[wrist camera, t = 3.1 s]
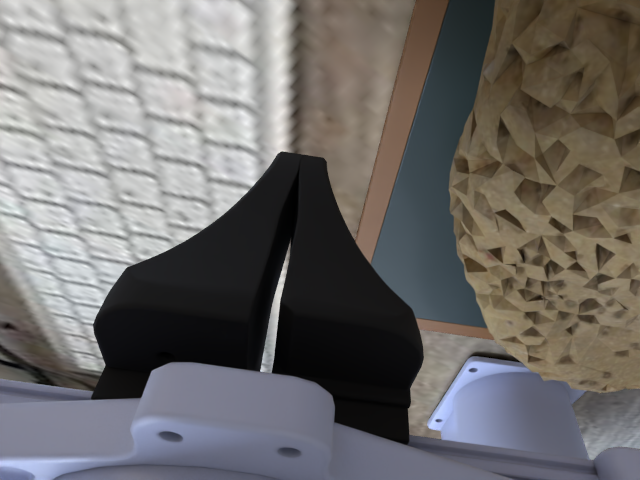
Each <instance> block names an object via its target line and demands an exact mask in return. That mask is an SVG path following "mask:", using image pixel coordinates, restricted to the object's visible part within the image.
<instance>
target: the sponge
mask: <svg viewBox="0 0 640 480" xmlns="http://www.w3.org/2000/svg"><path fill="white" fill-rule="evenodd" d="M449 192H450V197H451V200H450V209H449V210H450V213H451V214H452V215H453V216H454V230H453V231H454V234H455V236H456V242H457V243H456V246H457V255H458V257H459V258H460V260H461V261H462V263H463V264H464V272H465V277H466V280H467V282H468V283H469V284H470V285H471V286H472V287H473V288H474V290H475V293H476V301H477V303H478V305H479V307H480V309H481V312H482V315H483V318H484V321H485V323H486V325H487V327H488V330H489V333H491V334H492V335H493V338H494V340H495V342H496V343H497V344H499V345H501V346H503V347H504V348H505V350H506V352H507V353H509V354H510V355H512V356H514V357H515V358H516V359H518V360H519V361H521V362H522V363H523V364H524V365H525V366H526V367H527V368H528V369H529V370H530V371H531V372H538V373H539V374H540V376H541V378H542V379H543V381H548V380H557V381H564V382H567V383H568V384H569V386H571V389H578V390H586V391H595V392H598V393H600V394H601V393H603V392H604V393H607V392H615V391H620V390H622V389H625V388H627V389H637V388H640V0H495V7H494V16H493V25H492V30H491V34H490V38H489V42H488V46H487V50H486V54H485V58H484V62H483V67H482V72H481V77H480V81H479V86H478V90H477V94H476V98H475V103H474V107H473V109H472V111H471V113H470V115H469V117H468V119H467V121H466V123H465V126H464V131H463V134H462V135H461V137H460V139H459V142H458V145H457V149H456V152H455V155H454V158H453V162H452V166H451V171H450V180H449Z"/></svg>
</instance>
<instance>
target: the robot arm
mask: <svg viewBox="0 0 640 480" xmlns="http://www.w3.org/2000/svg"><path fill="white" fill-rule="evenodd" d="M290 240H291V250H290V260H289V265H288V270H287V274H286V279H285V283H284V288H283V292H282V297H281V301H280V310H279V320H278V329H277V338H276V347H275V356H274V363H273V369H272V373H265V372H260V369H261V363H262V357H263V352H264V346H265V340H266V335H267V329H268V324H269V318H270V313H271V307H272V303H273V299H274V295H275V291H276V288H277V285H278V281H279V278H280V274H281V271H282V267H283V264H284V261H285V257H286V254H287V250H288V247H289V243H290ZM93 327H94V334H95V337H96V340H97V342H98V345H99V348H100V351H101V353H102V356H103V359H104V362H105V365H106V366H105V368H104V370H103V373H102V375H101V377H100V379H99V381H98V383H97V385H96V388H95V390H94V392H92V391H84V390H77V389H70V388H62V387H55V386H48V385H41V384H33V383H26V382H19V381H11V380H4V379H0V480H640V449H636V448H629V447H614V448H609V449H606V450H604V451H603V452H601V453H600V454H599V455H598V456H597V457H596V458H595V459H594V460H590V459H589V456H588V453H587V450H586V447H585V444H584V441H583V438H582V435H581V432H580V428H579V425H578V422H577V419H576V416H575V413H574V410H573V407H572V404H573V403H574V402H575V401H576V400H577V399H578V398H579V397H581V396H582V395H583V394H584V393H585V392H586V390H578V389H571V386H569V384H568V383H567V382H564V381H557V380H548V381H543V379H542V378H541V376H540V374H539V373H538V372H531V371H530V370H529V369H528V368H527V367H526V366H525V365H524V364H523V363H521V362H514V361H507V360H500V359H493V358H486V357H479V356H473V357H470V358H469V359H468V360H467V361H466V363H465V364H464V366H463V367H462V369H461V370H460V372H459V374H458V375H457V377H456V378H455V380H454V381H453V383H452V384H451V386H450V388H449V389H448V391H447V392H446V394H445V395H444V397H443V398H442V400H441V401H440V403H439V405H438V406H437V408H436V409H435V411H434V412H433V414H432V415H431V417H430V419H429V420H428V427H429V428H430V429H434V430H441V437H442V439H435V438H428V437H420V436H413V435H409V423H408V408H409V407H410V404H411V397H410V387H411V385H412V383H413V382H414V380H415V378H416V376H417V374H418V372H419V370H420V368H421V366H422V363H423V359H424V356H423V345H422V340H421V335H420V331H419V328H418V324H417V321H416V318H415V315H414V312H413V309H412V308H411V307H410V306H409V305H408V304H407V303H405V302H404V301H403V300H402V299H401V298H400V297H399V296H398V295H397V294H396V293H395V292H394V291H393V290H392V289H391V288H390V287H389V286H388V285H387V284H386V283H385V282H384V281H383V280H382V278H381V277H380V276H379V275H378V273H377V272H376V271H375V269H374V268H373V267H372V266H371V264H370V263H369V262H368V260H367V259H366V258H365V256H364V255H363V253H362V252H361V250H360V248H359V247H358V245H357V244H356V242H355V240H354V239H353V237H352V235H351V233H350V231H349V230H348V228H347V226H346V224H345V221H344V219H343V217H342V215H341V213H340V210H339V208H338V205H337V202H336V200H335V197H334V194H333V191H332V188H331V185H330V181H329V177H328V172H327V162H326V161H325V159H324V158H321V157H314V156H308V155H301V154H295V153H288V152H280V153H279V154H277V156H276V158H275V159H274V161H273V162H272V164H271V165H270V167H269V168H268V169H267V171H266V172H265V173H264V174H263V176H262V177H261V178H260V179H259V180H258V181H257V182H256V184H255V185H254V186H253V187H252V188H251V189H250V190H249V191H248V192H247V193H246V194H245V195H244V196H243V197H242V198H241V199H240V200H239V201H238V202H237V203H236V204H235V205H234V206H233V207H232V208H231V209H230V210H228V211H227V212H226V213H225V214H224V215H222V216H221V217H220V218H219V219H217V220H216V221H215V222H213V223H212V224H211V225H209V226H208V227H206V228H205V229H204V230H202V231H201V232H199V233H198V234H196V235H195V236H193V237H191V238H190V239H188V240H186V241H185V242H183V243H181V244H179V245H177V246H175V247H174V248H172V249H170V250H168V251H166V252H164V253H161V254H159V255H157V256H155V257H152V258H150V259H147V260H145V261H142V262H140V263H138V264H135V265H133V266H130V267H127V268H126V269H125V271H124V272H123V273H122V275H121V276H120V278H119V279H118V280H117V282H116V283H115V284H114V286H113V287H112V289H111V290H110V292H109V293H108V295H107V297H106V299H105V301H104V303H103V305H102V307H101V309H100V310H99V312H98V314H97V316H96V319H95V321H94V324H93Z"/></svg>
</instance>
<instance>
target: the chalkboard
mask: <svg viewBox="0 0 640 480" xmlns="http://www.w3.org/2000/svg"><path fill="white" fill-rule="evenodd" d="M494 7H495V0H416V2H415V6H414V9H413V13H412V17H411V21H410V25H409V29H408V33H407V37H406V41H405V45H404V49H403V53H402V57H401V61H400V65H399V69H398V73H397V77H396V81H395V85H394V89H393V93H392V97H391V101H390V105H389V109H388V113H387V117H386V121H385V125H384V129H383V133H382V137H381V141H380V145H379V148H378V152H377V156H376V160H375V164H374V168H373V172H372V176H371V180H370V184H369V188H368V192H367V196H366V200H365V204H364V208H363V212H362V216H361V220H360V224H359V228H358V232H357V236H356V240H355V242H356V244H357V245H358V247H359V248H360V250H361V252H362V253H363V255H364V256H365V258H366V259H367V260H368V262H369V263H370V264H371V266H372V267H373V268H374V269H375V271H376V272H377V273H378V275H379V276H380V277H381V278H382V280H383V281H384V282H385V283H386V284H387V285H388V286H389V287H390V288H391V289H392V290H393V291H394V292H395V293H396V294H397V295H398V296H399V297H400V298H401V299H402V300H403V301H404V302H405V303H407V304H408V305H409V306H410V307H411V308H412V309H413V312H414V315H415V318H416V321H417V324H418V328H419V329H420V330H427V331H434V332H441V333H448V334H455V335H462V336H469V337H476V338H483V339H490V340H494V338H493V335H492V334H491V333H489V330H488V327H487V325H486V323H485V321H484V318H483V315H482V312H481V309H480V307H479V305H478V303H477V301H476V293H475V290H474V288H473V287H472V286H471V285H470V284H469V283H468V282H467V280H466V277H465V272H464V264H463V263H462V261H461V260H460V258H459V257H458V255H457V246H456V243H457V242H456V236H455V234H454V231H453V230H454V216H453V215H452V214H451V213H450V210H449V209H450V200H451V197H450V192H449V180H450V171H451V166H452V162H453V158H454V155H455V152H456V149H457V145H458V142H459V139H460V137H461V135H462V134H463V131H464V126H465V123H466V121H467V119H468V117H469V115H470V113H471V111H472V109H473V107H474V103H475V98H476V94H477V90H478V86H479V81H480V77H481V72H482V67H483V62H484V58H485V54H486V50H487V46H488V42H489V38H490V34H491V30H492V25H493V16H494Z"/></svg>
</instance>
